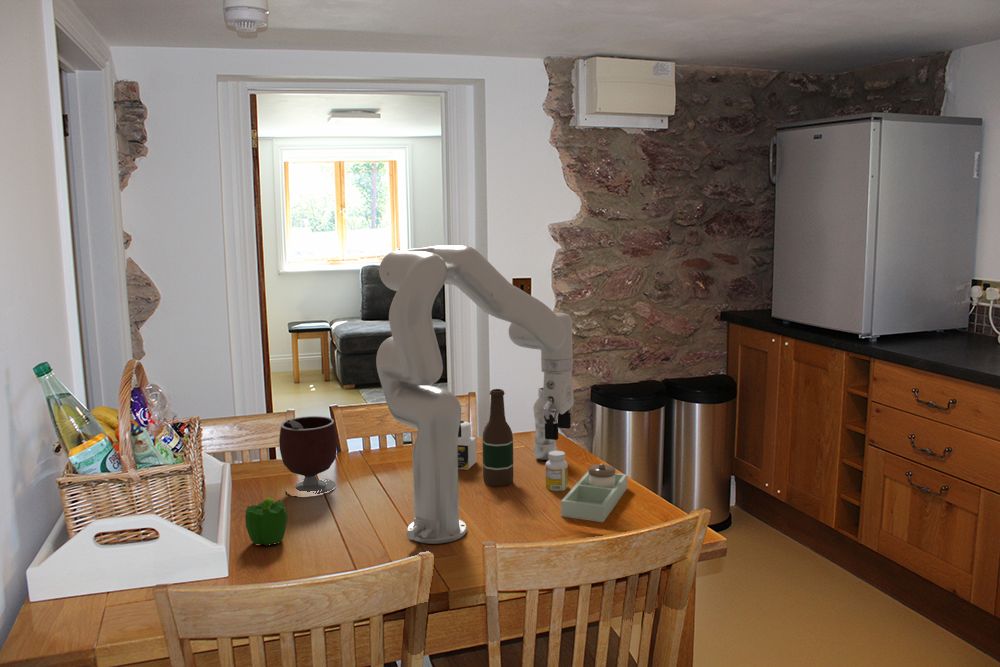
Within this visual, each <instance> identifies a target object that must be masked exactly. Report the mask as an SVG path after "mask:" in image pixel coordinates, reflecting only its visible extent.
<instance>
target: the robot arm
mask: <svg viewBox="0 0 1000 667" xmlns="http://www.w3.org/2000/svg"><path fill="white" fill-rule="evenodd" d="M378 271H379V272H378V273H379V278H380V280H381V282H382V284H383V285H385V287H386V288H388V289H390V290H392V291H394V292H396V293H395V295H394V297H393V299H392V302H391V304H390V307H389V312H388V322H389V323H388V324H389V327H390V332H391V336H390V337H388V338H386V339H384V340H383V341H382V343H381V344H380V345H379V348H378V350H377V352H376V358H375V359H376V360H375V361H376V362H375V363H376V365H375V366H376V370H377V374H378V379H379V380H380V385H381V387H382V388H381V389H382V392H383V395H384V398H385V402H386V405H387V407H388V408H387V409H388V410H389V412H390V414H391V416H392V417H393V419H394V420H396V421H397V422H398V423H401V424H402V425H405V426H408V427H411V428H414V429H416V430H417V435H416V438H415V440H414V442H413V446H412V456H411V457H412V477H413V478H412V482H413V483H412V484H413V485H412V486H413V487H412V488H413V510H414V511H413V513H414V516H413V517H414V518H413V521H412V522H411V523H410V524H409V525H408V526H407V528H406V529H407V532H406V538H407V539H408V540H410V541H415V542H417V543H421V544H428V545H440V544H446V543H451V542H454V541H457V540H460V539H461V538H462V537H464V536H465V535H466V533H467V530H468V529H467V524H466V523H465V521H463V520H461V519H460V504H459V502H460V498H459V496H460V494H459V469H458V433H459V426H460V421H462V405H461V403H460V401H459V399H458V397H457V396H456V395H455V394H454V393H452V392H451V391H449V390H447V389H445V388H442V387H439V386H434V385H433V384H435V383H437V382H438V381H439V380H440V378H441V376H442V375H443V370H444V365H443V358H442V354H441V350H440V346H439V344H438V340H437V336H436V332H435V329H434V328H435V327H434V323H433V318H432V317H433V316H432V310H433V305H434V302H435V300H436V298H437V295H438V294H439V292H440V291H441V289H442V288H443V286H444V285H452V286H455V287H456V288H458V289H459V290H460V291H462V293H463V294H465V296H467V297H468V298H469V299H470V300H471V301H472V302H473V303H474V304H475V305H476V306H477V307H478V308H479V309H480V310H481V311H483V312H484V313H485V314H488V315H490V316H491V317H494V318H495V319H498V320H499V319H500V320H502V321H505V322H508V323H510V325H509V326H508V327H509V328H508V336H509V339H510V340H511V342H512V343H513V344H514V345H516V346H518V347H522V348H526V349H531V350H532V349H533V350H539V351H540V353H541V354H540V357H541V359H540V361H541V362H540V363H541V364H540V367H541V372H542V373H543V386H542V388H543V406H544V423H545V439H550V440H555V441H558V440H559V429H567V430H569V429H571V427H572V424H571V421H572V420H571V418H572V417H571V414H572V413H571V410H572V409H571V408H572V407H573V406H574V404H575V400H574V385H573V383H574V382H573V380H574V379H573V373H572V372H573V369H574V368H573V367H574V362H573V360H574V358H573V357H574V356H573V318H572V317H571V315H570V314H568V313H566V312H565V313H564V312H554V311H553V310H552V309H551V308H550V307H549V306H548V305H547V304H545V303H544V302H542V301H541V300H539V299H537V298H536V297H534V296H532V295H531V294H528V293H527V292H526V291H524V290H522V289H521V288H520V287H517V286H516V285H514V284H512V283H511V282H509V281H508V280H507V279H506V278H505V276H503V275H502V274H501V273H500V271H498V270H497V269H496V268H495V267H494V266H493V265H492V264H491V263H490V262H489V261H488V259H486V257H485V256H483V255H482V254H481V252H480V251H478V250H477V249H475V248H473V247H471V246H469V245H457V244H456V245H454V244H453V245H452V244H451V245H450V244H449V245H448V244H445V245H444V244H443V245H442V244H441V245H433V246H427V247H420V248H419V247H418V248H408V249H400V250H393V251H391V252H389V253H387V255H385V256H384V257H383V258H382V260H381V261H380V264H379V270H378ZM554 410H556V411H554ZM552 415H554V418H553V416H552Z"/></svg>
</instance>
